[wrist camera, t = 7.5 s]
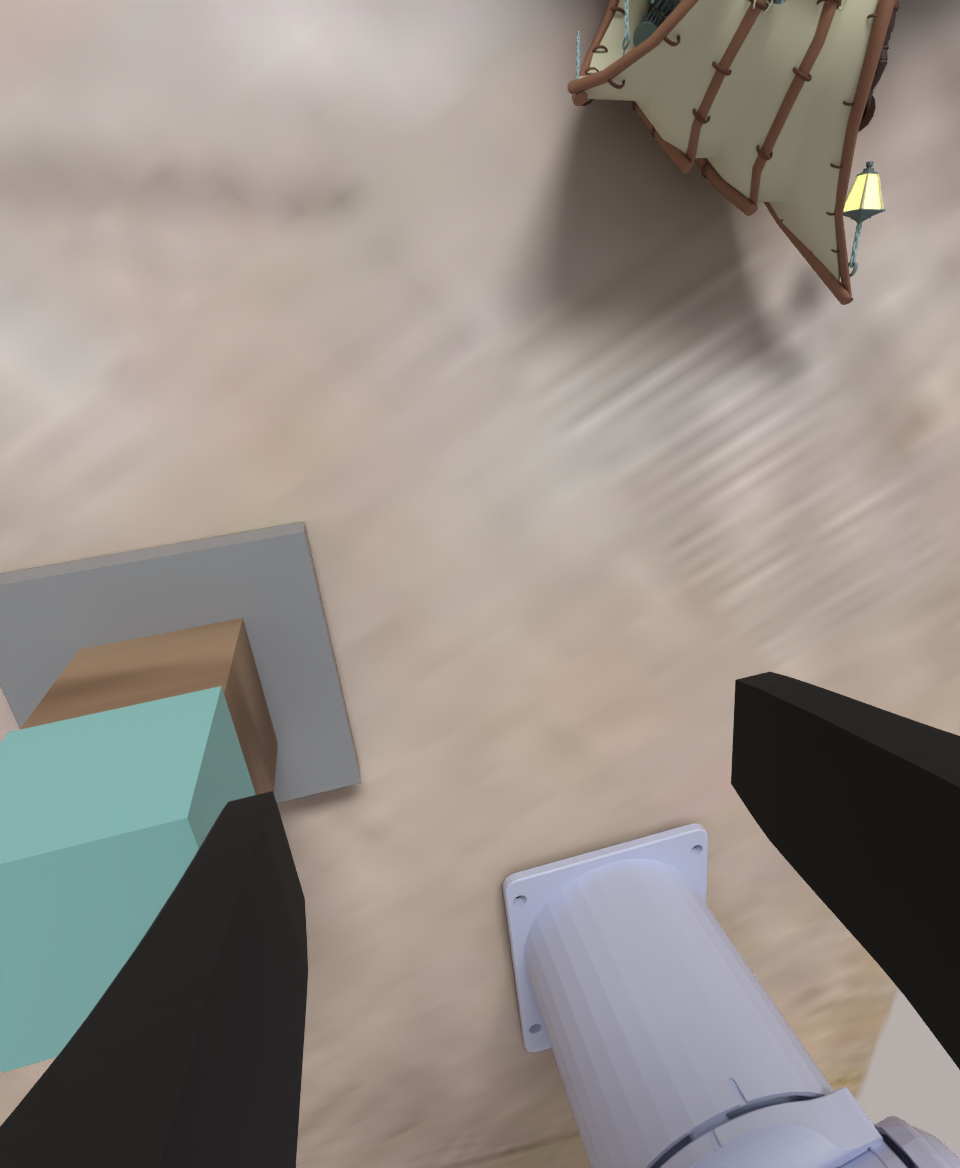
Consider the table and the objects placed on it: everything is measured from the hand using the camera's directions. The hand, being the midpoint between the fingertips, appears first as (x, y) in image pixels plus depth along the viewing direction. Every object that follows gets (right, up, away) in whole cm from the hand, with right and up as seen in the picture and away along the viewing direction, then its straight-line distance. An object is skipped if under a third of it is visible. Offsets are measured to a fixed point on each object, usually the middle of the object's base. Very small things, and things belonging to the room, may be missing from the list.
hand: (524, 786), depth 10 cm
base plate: (-9, 0, +9) cm, 12 cm away
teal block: (-8, -1, +4) cm, 9 cm away
